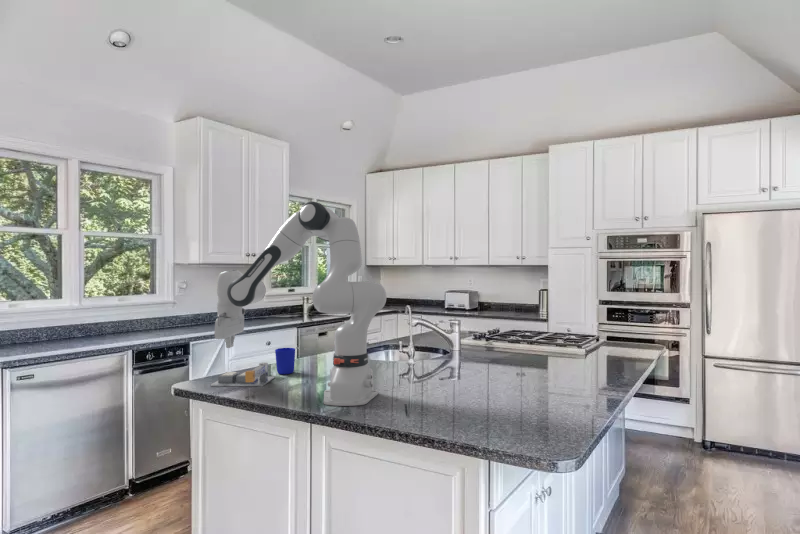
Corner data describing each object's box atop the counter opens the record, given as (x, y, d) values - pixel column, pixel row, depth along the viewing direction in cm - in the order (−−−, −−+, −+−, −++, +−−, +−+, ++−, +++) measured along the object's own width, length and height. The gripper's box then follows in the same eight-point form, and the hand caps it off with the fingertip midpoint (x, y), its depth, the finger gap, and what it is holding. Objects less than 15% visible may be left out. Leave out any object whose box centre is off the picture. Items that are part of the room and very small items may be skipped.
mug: (300, 369, 222) (300, 346, 222) (292, 375, 210) (291, 350, 210) (282, 369, 223) (281, 346, 223) (272, 375, 211) (272, 350, 211)
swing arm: (268, 370, 200) (268, 361, 200) (253, 382, 181) (253, 371, 181) (260, 370, 200) (260, 361, 200) (244, 382, 181) (244, 372, 181)
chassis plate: (262, 386, 192) (262, 376, 191) (210, 386, 193) (210, 376, 193) (274, 377, 205) (274, 368, 205) (225, 377, 207) (225, 368, 207)
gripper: (226, 314, 189) (226, 352, 189) (246, 309, 210) (247, 343, 210) (209, 314, 190) (210, 351, 190) (231, 309, 210) (232, 343, 210)
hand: (229, 347), depth 200 cm, fingers closed
